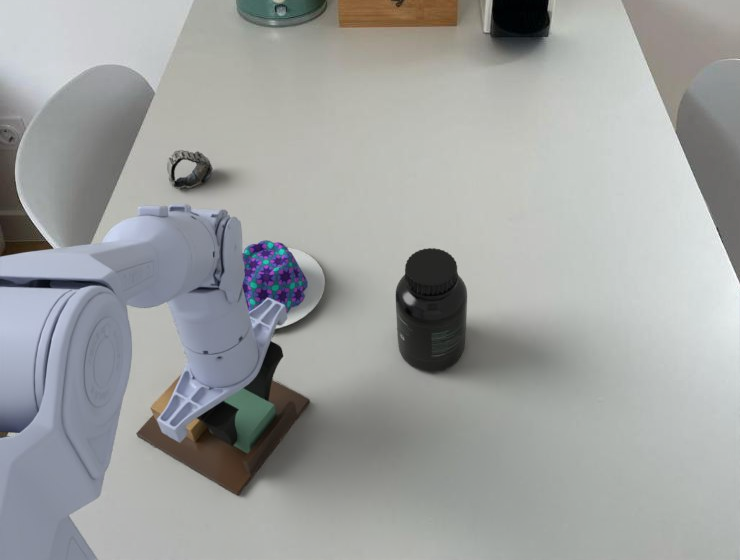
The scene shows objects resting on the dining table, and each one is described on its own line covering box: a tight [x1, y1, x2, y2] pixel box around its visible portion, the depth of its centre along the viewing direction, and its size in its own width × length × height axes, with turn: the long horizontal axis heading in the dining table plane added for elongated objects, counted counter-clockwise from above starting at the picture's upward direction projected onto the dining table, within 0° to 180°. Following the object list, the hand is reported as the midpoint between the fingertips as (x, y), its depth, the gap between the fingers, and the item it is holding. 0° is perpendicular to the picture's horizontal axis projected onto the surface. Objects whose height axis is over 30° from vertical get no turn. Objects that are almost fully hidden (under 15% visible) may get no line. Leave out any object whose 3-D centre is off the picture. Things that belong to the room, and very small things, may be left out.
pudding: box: [242, 239, 326, 330], centre depth 87 cm, size 12×12×5 cm
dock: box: [135, 373, 311, 497], centre depth 76 cm, size 11×12×3 cm
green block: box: [209, 388, 277, 453], centre depth 74 cm, size 4×5×3 cm
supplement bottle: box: [395, 247, 468, 373], centre depth 78 cm, size 7×7×12 cm
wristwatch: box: [166, 149, 214, 190], centre depth 101 cm, size 3×5×5 cm
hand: (242, 418), depth 75 cm, fingers closed on green block, 4 cm apart
